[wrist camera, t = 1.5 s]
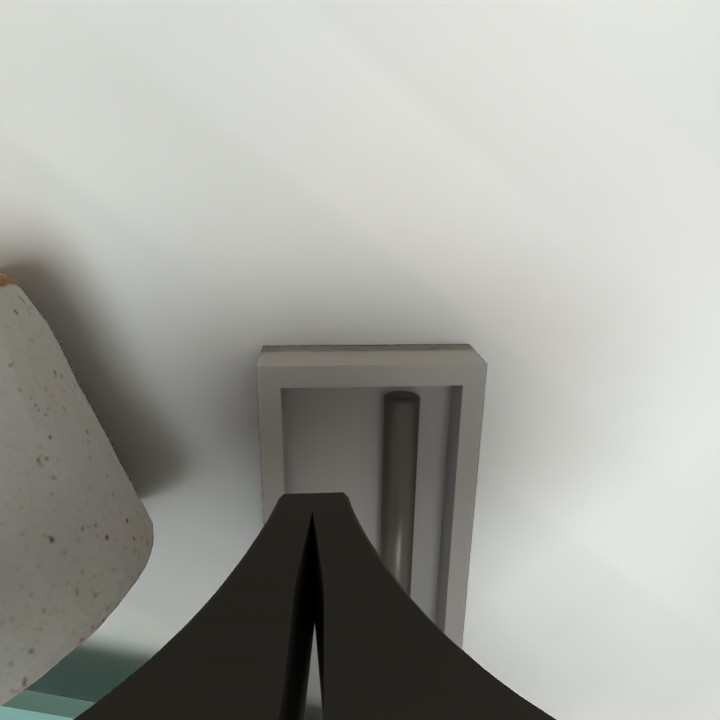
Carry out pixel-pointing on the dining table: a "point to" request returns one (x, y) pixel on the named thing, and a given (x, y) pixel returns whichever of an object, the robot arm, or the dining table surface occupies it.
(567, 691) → the dining table surface
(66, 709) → the cover
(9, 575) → the ceramic mug
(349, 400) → the grey open box
